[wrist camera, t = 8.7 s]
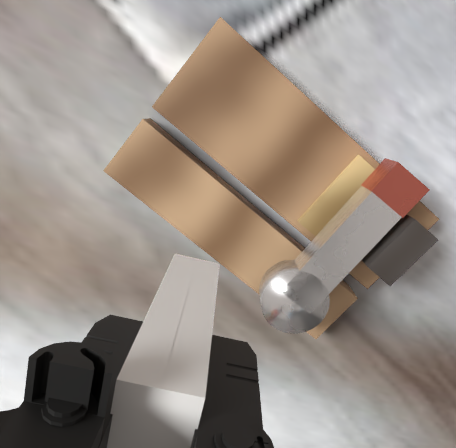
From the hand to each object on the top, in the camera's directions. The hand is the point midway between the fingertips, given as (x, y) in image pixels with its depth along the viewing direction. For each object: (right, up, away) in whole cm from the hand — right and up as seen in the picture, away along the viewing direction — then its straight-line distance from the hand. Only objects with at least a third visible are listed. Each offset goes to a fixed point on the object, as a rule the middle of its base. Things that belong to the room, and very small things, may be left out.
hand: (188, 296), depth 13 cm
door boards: (+4, +5, +17) cm, 18 cm away
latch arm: (+8, +1, +14) cm, 16 cm away
